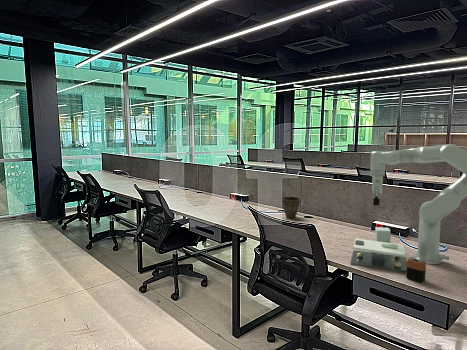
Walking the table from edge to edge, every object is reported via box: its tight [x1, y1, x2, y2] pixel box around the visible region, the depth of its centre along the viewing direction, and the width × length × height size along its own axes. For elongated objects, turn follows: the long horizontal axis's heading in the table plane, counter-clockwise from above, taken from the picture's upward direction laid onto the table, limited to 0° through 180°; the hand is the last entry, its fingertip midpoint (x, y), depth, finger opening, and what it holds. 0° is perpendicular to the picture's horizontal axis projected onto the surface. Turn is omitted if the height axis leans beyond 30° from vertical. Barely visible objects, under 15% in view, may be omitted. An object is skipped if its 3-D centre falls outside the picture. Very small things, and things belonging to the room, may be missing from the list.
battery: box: [405, 256, 427, 283], centre depth 147 cm, size 4×7×10 cm, turn 43°
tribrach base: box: [350, 249, 407, 273], centre depth 170 cm, size 26×20×6 cm
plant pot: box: [281, 196, 301, 219], centre depth 265 cm, size 15×15×16 cm
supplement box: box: [374, 226, 392, 243], centre depth 186 cm, size 7×7×13 cm
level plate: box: [353, 237, 406, 258], centre depth 169 cm, size 24×16×4 cm, turn 65°
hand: (376, 205), depth 182 cm, fingers closed
